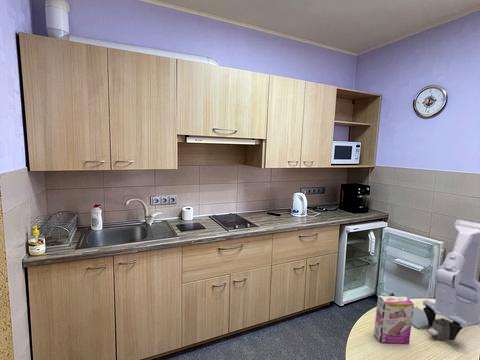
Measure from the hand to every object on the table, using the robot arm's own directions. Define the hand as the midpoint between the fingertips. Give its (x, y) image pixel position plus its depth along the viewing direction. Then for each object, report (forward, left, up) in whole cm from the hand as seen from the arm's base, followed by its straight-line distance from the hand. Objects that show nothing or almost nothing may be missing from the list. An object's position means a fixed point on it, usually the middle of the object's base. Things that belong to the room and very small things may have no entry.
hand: (441, 332), depth 99 cm
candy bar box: (+21, -4, -2) cm, 21 cm away
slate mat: (-2, -11, -2) cm, 11 cm away
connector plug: (+1, 0, -2) cm, 2 cm away
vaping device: (+12, -14, -2) cm, 19 cm away
